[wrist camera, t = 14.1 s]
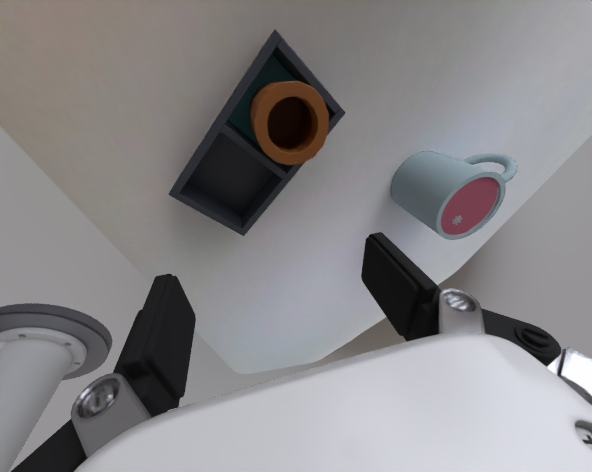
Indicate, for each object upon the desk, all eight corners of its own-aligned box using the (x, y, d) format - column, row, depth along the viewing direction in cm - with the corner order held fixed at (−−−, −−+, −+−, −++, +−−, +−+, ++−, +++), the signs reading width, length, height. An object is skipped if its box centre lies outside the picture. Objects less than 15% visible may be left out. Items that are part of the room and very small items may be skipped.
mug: (398, 217, 40) (441, 251, 32) (384, 173, 34) (430, 200, 26) (472, 172, 38) (537, 196, 30) (469, 119, 33) (546, 131, 25)
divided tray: (177, 179, 28) (168, 194, 25) (268, 38, 23) (275, 28, 19) (242, 218, 33) (243, 236, 29) (330, 108, 28) (345, 112, 24)
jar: (237, 118, 25) (239, 132, 18) (272, 67, 24) (289, 59, 16) (280, 154, 29) (296, 178, 21) (313, 111, 27) (343, 121, 19)
